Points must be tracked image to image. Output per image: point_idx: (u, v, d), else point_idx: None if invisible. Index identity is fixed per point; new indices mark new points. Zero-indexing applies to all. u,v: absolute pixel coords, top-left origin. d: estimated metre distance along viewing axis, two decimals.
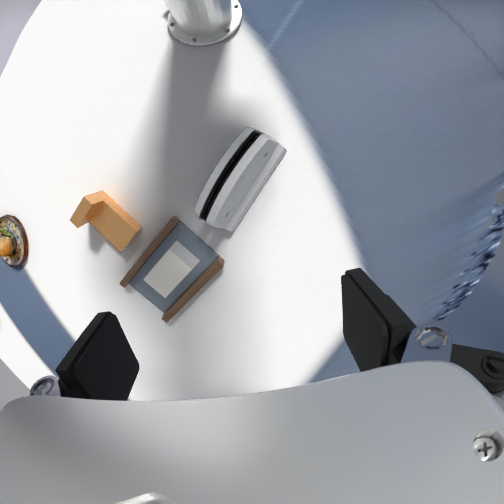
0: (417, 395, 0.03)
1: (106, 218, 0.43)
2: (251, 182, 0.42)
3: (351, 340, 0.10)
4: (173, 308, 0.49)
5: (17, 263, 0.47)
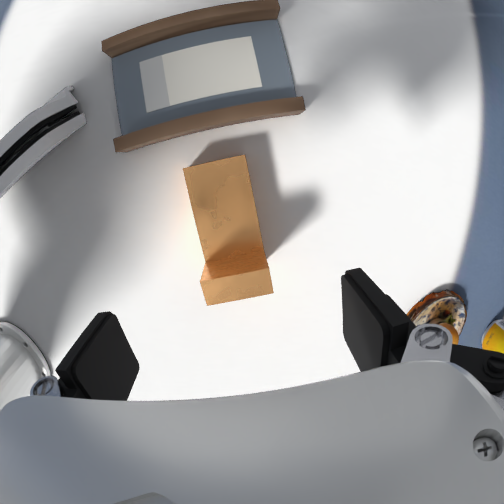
0: (417, 395, 0.03)
1: (223, 229, 0.23)
2: None
3: (351, 340, 0.10)
4: (239, 10, 0.17)
5: (454, 298, 0.29)
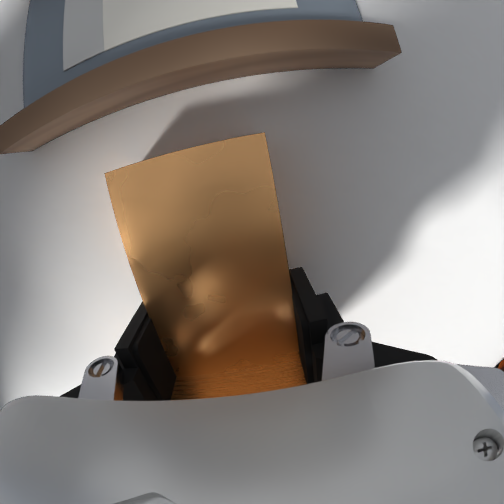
0: (417, 395, 0.03)
1: (208, 321, 0.09)
2: None
3: None
4: None
5: None
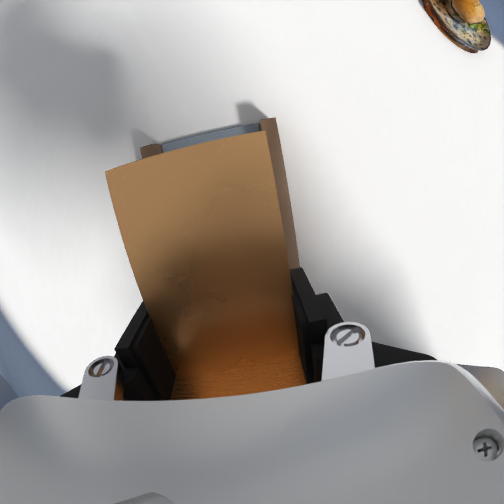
0: (417, 395, 0.03)
1: (209, 320, 0.09)
2: None
3: None
4: None
5: None
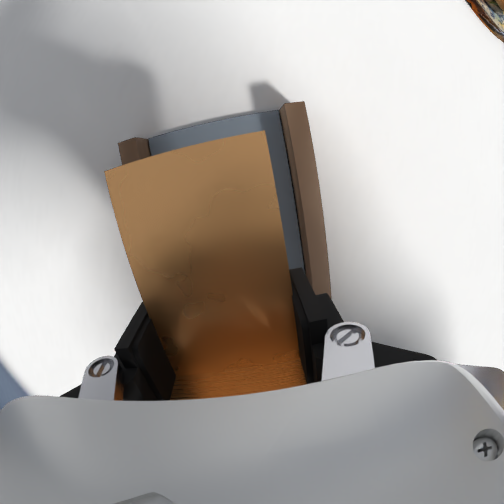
0: (417, 395, 0.03)
1: (208, 320, 0.09)
2: None
3: None
4: None
5: None
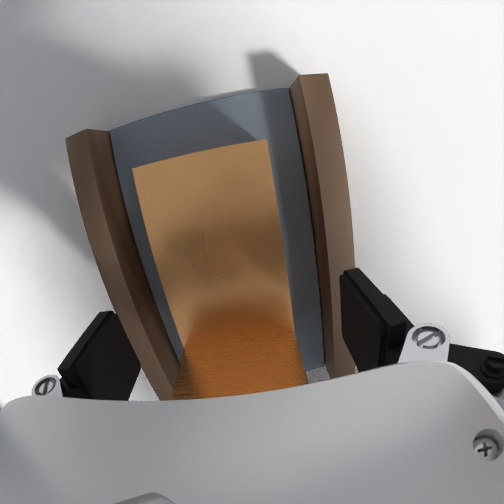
0: (417, 395, 0.03)
1: (216, 296, 0.11)
2: None
3: (349, 340, 0.10)
4: (97, 207, 0.11)
5: None
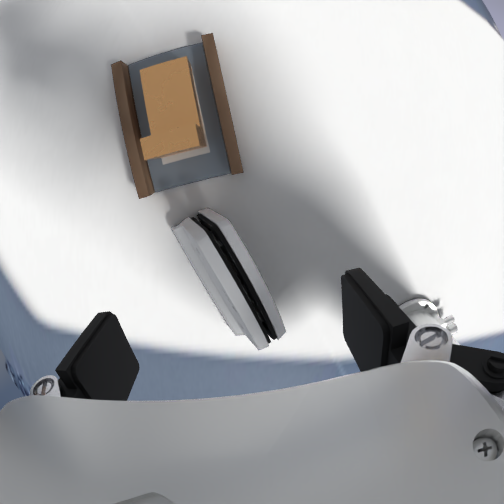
0: (417, 395, 0.03)
1: (167, 112, 0.24)
2: (219, 291, 0.32)
3: (351, 340, 0.10)
4: (123, 88, 0.24)
5: None
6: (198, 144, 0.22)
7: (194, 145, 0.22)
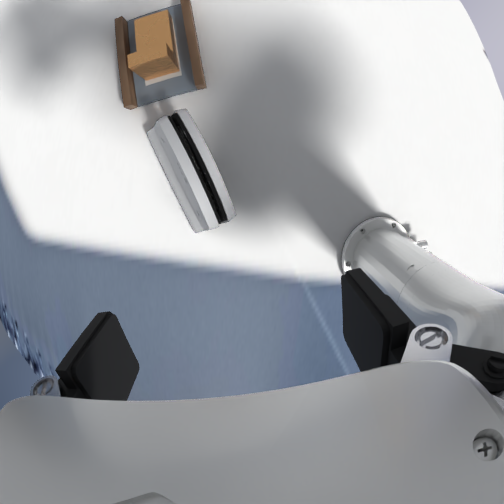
0: (417, 395, 0.03)
1: (150, 44, 0.28)
2: (180, 182, 0.35)
3: (351, 340, 0.10)
4: (121, 33, 0.28)
5: None
6: (166, 55, 0.26)
7: (163, 55, 0.26)
